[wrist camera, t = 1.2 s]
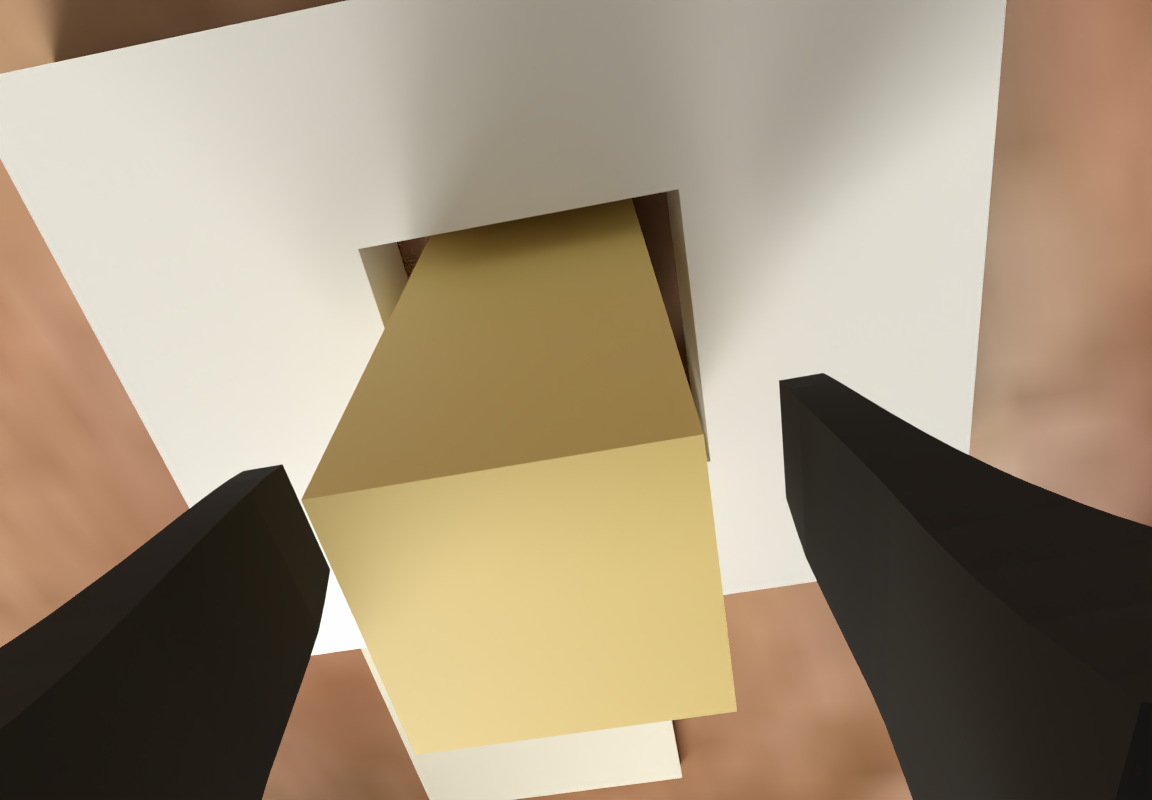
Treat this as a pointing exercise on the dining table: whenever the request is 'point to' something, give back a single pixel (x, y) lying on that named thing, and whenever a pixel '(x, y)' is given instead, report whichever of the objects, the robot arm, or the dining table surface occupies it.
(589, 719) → the block
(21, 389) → the dining table surface
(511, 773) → the mat
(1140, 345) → the dining table surface
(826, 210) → the holder
